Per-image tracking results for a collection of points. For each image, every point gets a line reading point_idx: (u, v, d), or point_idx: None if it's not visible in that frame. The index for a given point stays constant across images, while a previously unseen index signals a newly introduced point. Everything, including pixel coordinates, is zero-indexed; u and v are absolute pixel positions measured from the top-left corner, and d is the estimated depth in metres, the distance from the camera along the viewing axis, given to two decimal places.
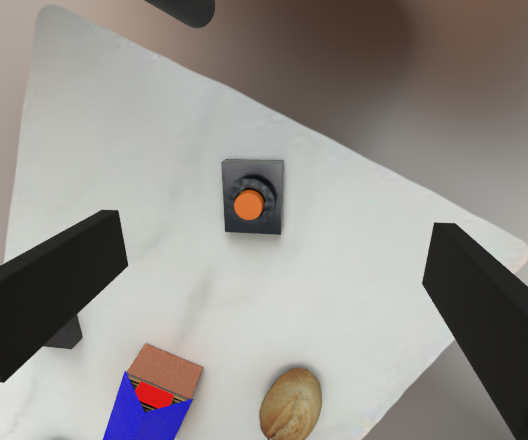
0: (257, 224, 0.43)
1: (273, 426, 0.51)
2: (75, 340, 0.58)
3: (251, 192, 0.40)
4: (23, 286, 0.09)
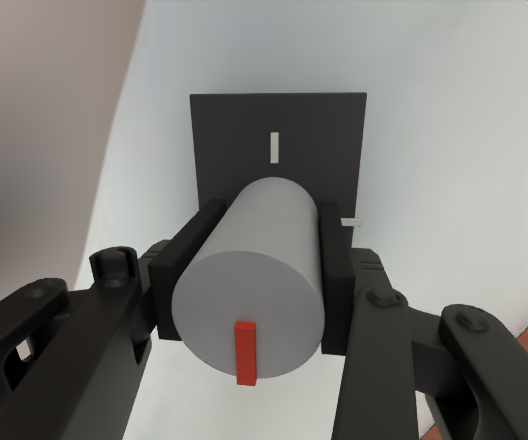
0: None
1: None
2: None
3: None
4: (190, 259, 0.11)
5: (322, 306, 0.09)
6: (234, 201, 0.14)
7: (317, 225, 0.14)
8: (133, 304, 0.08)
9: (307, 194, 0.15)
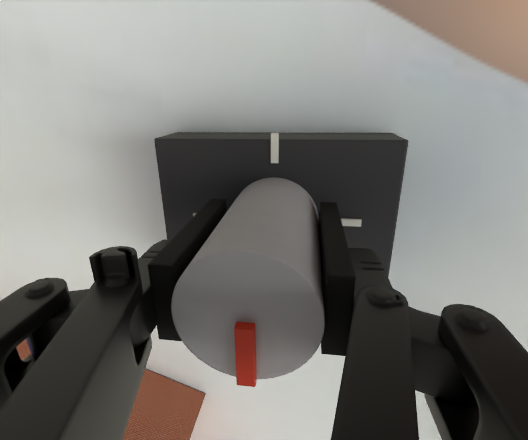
0: None
1: None
2: None
3: None
4: (190, 259, 0.11)
5: (322, 306, 0.09)
6: (234, 201, 0.14)
7: (317, 225, 0.14)
8: (133, 304, 0.08)
9: (307, 194, 0.15)
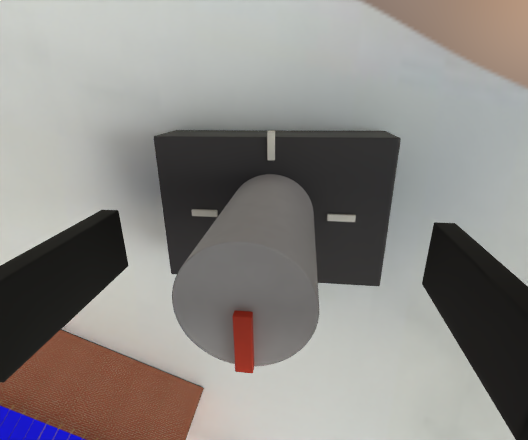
0: None
1: None
2: None
3: None
4: (23, 286, 0.09)
5: (316, 295, 0.09)
6: (232, 197, 0.15)
7: (312, 220, 0.14)
8: None
9: (303, 190, 0.16)
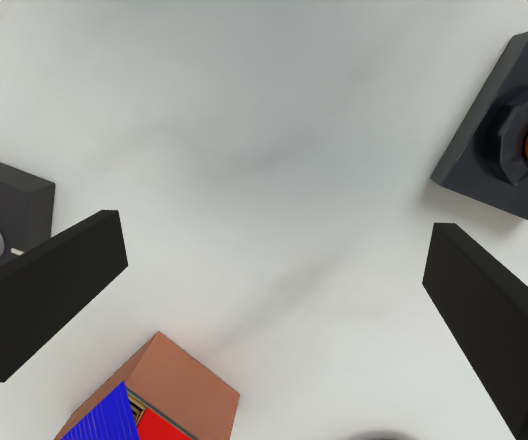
0: None
1: None
2: None
3: None
4: (23, 286, 0.09)
5: None
6: None
7: None
8: None
9: None
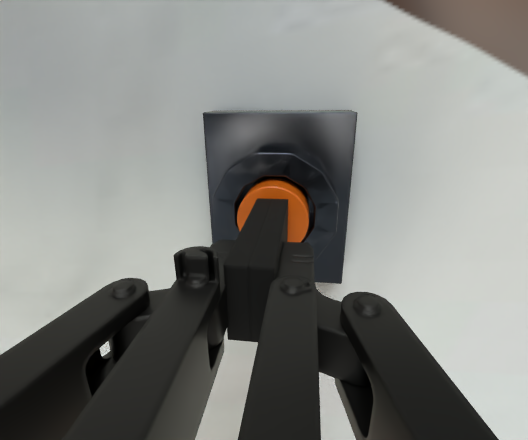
0: None
1: None
2: None
3: (280, 184, 0.16)
4: None
5: None
6: None
7: None
8: (212, 307, 0.08)
9: None
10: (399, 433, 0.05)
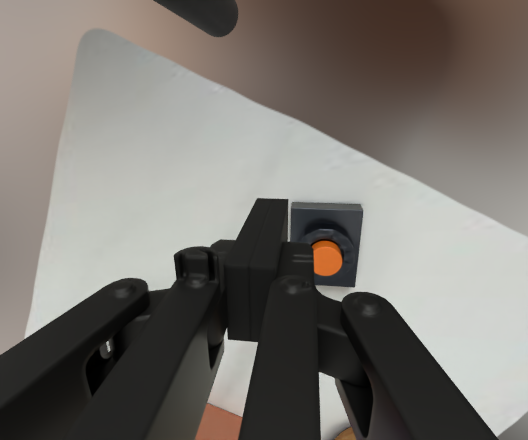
0: (331, 278, 0.37)
1: None
2: None
3: (329, 245, 0.35)
4: None
5: None
6: None
7: None
8: (212, 307, 0.08)
9: None
10: (399, 433, 0.05)
